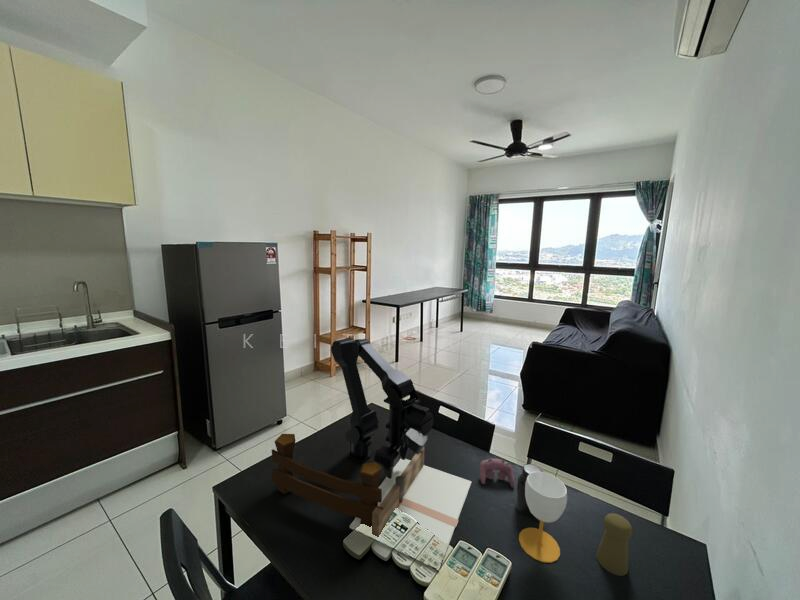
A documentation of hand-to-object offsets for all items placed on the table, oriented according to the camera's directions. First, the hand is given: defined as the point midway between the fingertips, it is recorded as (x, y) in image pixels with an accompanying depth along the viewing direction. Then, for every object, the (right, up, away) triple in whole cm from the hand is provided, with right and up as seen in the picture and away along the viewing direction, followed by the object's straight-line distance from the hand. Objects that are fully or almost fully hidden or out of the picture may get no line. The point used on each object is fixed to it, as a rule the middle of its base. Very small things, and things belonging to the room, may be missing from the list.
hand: (396, 468), depth 96 cm
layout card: (+5, -5, -9) cm, 11 cm away
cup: (+34, -8, -20) cm, 40 cm away
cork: (+49, -9, -23) cm, 55 cm away
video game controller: (+30, -4, +1) cm, 30 cm away
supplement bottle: (+35, -6, -10) cm, 37 cm away
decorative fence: (-18, -4, -11) cm, 22 cm away
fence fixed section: (-2, -5, -14) cm, 15 cm away
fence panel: (+4, -2, -1) cm, 5 cm away
